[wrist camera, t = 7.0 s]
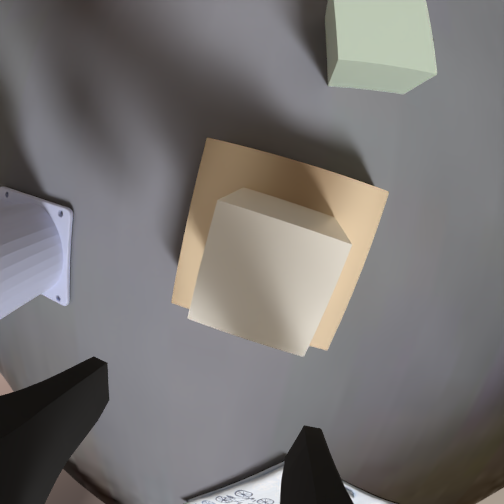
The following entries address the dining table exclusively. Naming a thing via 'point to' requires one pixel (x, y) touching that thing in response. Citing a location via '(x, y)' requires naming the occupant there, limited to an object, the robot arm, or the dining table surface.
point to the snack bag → (269, 491)
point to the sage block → (379, 44)
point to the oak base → (290, 189)
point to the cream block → (268, 270)
